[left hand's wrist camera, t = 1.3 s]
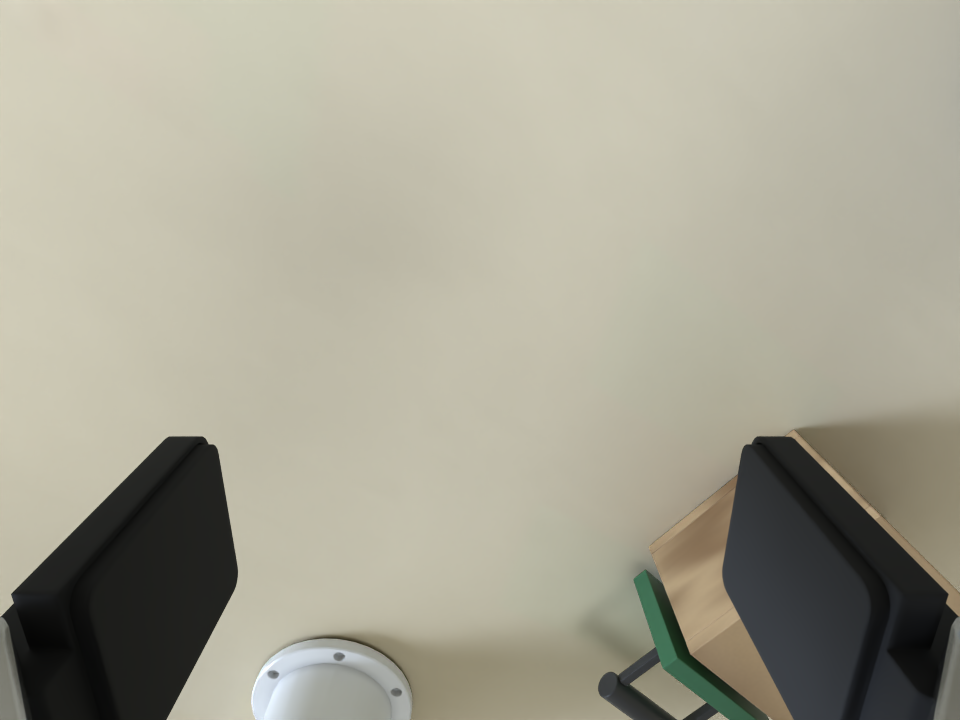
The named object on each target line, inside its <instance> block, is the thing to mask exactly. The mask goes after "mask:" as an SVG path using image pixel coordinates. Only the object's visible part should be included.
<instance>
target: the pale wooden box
mask: <svg viewBox="0 0 960 720" xmlns="http://www.w3.org/2000/svg"><path fill="white" fill-rule="evenodd" d="M785 437H792V438H794V439H795V440H796V441H797V442H798V443H799V444H800V445H801V446H802V447H803V448H804V449H805V450H806V451H807V452H808V453H809V454H810V455H811V456H812V457H813V458H814V459H815V460H816V461H817V462H818V463H819V464H820V465H821V466H822V467H823V468H824V469H825V470H826V471H827V472H828V473H829V474H830V475H831V476H832V477H833V478H834V479H835V480H836V481H837V482H838V483H839V484H840V485H841V486H842V487H843V488H844V489H845V490H846V491H847V492H848V493H849V494H850V495H851V496H852V497H853V498H854V499H855V500H856V501H857V502H858V503H859V504H860V505H861V506H862V507H863V508H864V509H865V510H866V511H867V512H868V513H869V514H870V515H871V516H872V517H873V518H874V519H875V520H876V521H877V522H878V523H879V524H880V525H881V526H882V527H883V528H884V529H885V530H886V531H887V532H888V533H889V534H890V535H891V536H892V537H893V538H894V539H895V540H896V541H897V542H898V543H899V544H900V546H901V547H902V548H903V549H904V550H905V551H906V552H907V553H908V554H909V555H910V556H911V557H912V558H913V559H914V560H915V561H916V562H917V563H918V564H919V565H920V566H921V567H922V568H923V569H924V570H925V571H926V572H927V573H928V574H929V575H930V576H931V577H932V578H933V579H934V580H935V581H936V582H937V583H938V584H939V585H940V586H941V587H942V588H943V589H944V590H945V591H946V592H947V593H948V594H949V595H948V598H947V601H946V604H947V605H948V606H949V607H950V608H951V609H952V610H953V611H954V612H955V613H956V614H957V615H958V616H959V617H960V593H959V592H958V591H957V590H956V589H955V588H954V587H953V586H952V585H951V584H950V583H949V582H948V581H947V580H946V579H945V578H944V577H943V576H942V575H941V574H940V573H939V572H938V571H937V570H936V569H935V568H934V567H933V566H932V565H931V564H930V563H929V562H928V561H927V560H926V559H925V558H924V557H923V556H922V555H921V554H920V553H919V552H918V551H917V550H916V549H915V548H914V547H913V546H912V545H911V544H910V543H909V542H908V541H907V540H906V539H905V538H904V537H903V536H902V535H901V534H900V533H899V532H898V531H897V530H896V529H895V528H894V527H893V526H892V525H891V524H890V523H889V522H888V521H887V520H886V519H885V518H884V517H883V516H882V515H881V514H880V513H878V512H877V511H876V510H875V509H874V508H873V507H872V506H871V505H870V504H869V503H868V502H867V501H866V500H865V499H864V498H863V497H862V496H861V495H860V494H859V493H858V492H857V491H856V490H855V489H854V488H853V487H852V486H851V485H850V484H849V483H848V482H847V481H846V480H845V479H844V478H843V477H842V476H841V475H840V474H839V473H838V472H837V471H836V470H835V469H834V468H833V467H832V466H831V465H830V464H829V463H828V462H827V461H826V460H825V459H824V458H823V457H822V456H821V455H820V454H819V453H818V452H817V451H816V450H815V449H814V448H813V447H812V446H811V445H810V444H809V443H808V442H807V441H806V440H805V439H804V438H803V437H802V436H800V435H799V434H798V433H797V432H796V431H795V430H792V431H791V432H790V433H789V434H787V435H786V436H785ZM737 477H738V475H737V476H735V477H734V478H733V479H732V480H731V481H729V482H728V483H727V484H726V485H724V486H723V487H722V488H721V489H719V490H718V491H717V492H716V493H714V494H713V495H712V496H711V497H710V498H708V499H707V500H706V501H705V502H703V503H702V504H701V505H700V506H698V507H697V508H696V509H695V510H693V511H692V512H691V513H690V514H689V515H687V516H686V517H685V518H684V519H682V520H681V521H680V522H679V523H677V524H676V525H675V526H674V527H672V528H671V529H670V530H669V531H668V532H666V533H665V534H664V535H663V536H661V537H660V538H659V539H658V540H656V541H655V542H654V543H653V544H652V545H650V546H649V549H650V552H651V554H652V557H653V559H654V562H655V564H656V567H657V569H658V572H659V575H660V577H661V580H662V582H663V585H664V587H665V590H666V593H667V595H668V598H669V600H670V603H671V605H672V608H673V610H674V613H675V616H676V618H677V621H678V623H679V626H680V628H681V631H682V633H683V636H684V639H685V641H686V644H687V647H688V649H689V652H690V654H691V655H692V656H693V657H694V658H696V659H697V660H698V661H699V662H701V663H702V664H703V665H704V666H706V667H707V668H708V669H710V670H711V671H712V672H713V673H715V674H716V675H717V676H718V677H720V678H721V679H722V680H723V681H725V682H726V683H727V684H728V685H730V686H731V687H732V688H733V689H735V690H736V691H737V692H738V693H740V694H741V695H742V696H744V697H745V698H746V699H747V700H749V701H750V702H751V703H752V704H754V705H755V706H756V707H757V708H759V709H760V710H761V711H762V712H764V713H765V714H766V715H767V716H769V717H770V718H771V719H773V720H794V719H793V718H792V716H791V714H790V712H789V710H788V708H787V706H786V704H785V702H784V700H783V698H782V697H781V695H780V693H779V691H778V689H777V687H776V685H775V683H774V681H773V679H772V678H771V676H770V674H769V672H768V670H767V668H766V666H765V664H764V662H763V660H762V658H761V657H760V655H759V653H758V651H757V649H756V647H755V645H754V643H753V641H752V639H751V638H750V636H749V634H748V632H747V630H746V628H745V626H744V624H743V622H742V620H741V619H740V617H739V615H738V613H737V611H736V609H735V607H734V605H733V603H732V601H731V599H730V598H729V596H728V594H727V592H726V590H725V587H724V583H723V578H722V567H723V561H724V555H725V549H726V543H727V537H728V531H729V525H730V519H731V513H732V507H733V501H734V495H735V489H736V483H737Z"/></svg>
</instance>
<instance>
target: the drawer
mask: <svg viewBox="0 0 960 720" xmlns="http://www.w3.org/2000/svg"><path fill="white" fill-rule="evenodd" d="M634 583H635V586H636V589H637V592H638V595H639V598H640V601H641V604H642V607H643V610H644V613H645V616H646V619H647V622H648V625H649V628H650V631H651V634H652V637H653V640H654V643H655V646H656V647H655V648H654V649H653V650H651V651H650V652H649V653H647V654H646V655H645V656H643V657H642V658H641V659H639V660H638V661H637V662H635V663H634V664H633V665H631V666H630V667H629V668H627V669H626V670H625V671H623V672H622V673H621V674H619V676H618V675H617V674H615V673H614V672H608V673H606V674H605V675H604V676H603V677H602V678H601V680H600V682H599V686H598V691H599V694H600V696H601V697H603V698H604V699H606V700H607V701H608V702H610V703H611V704H612V705H614V706H615V707H616V708H618V709H619V710H621V711H622V712H623V713H625V714H626V715H627V716H629V717H630V718H632V719H633V720H677V719H675V718H674V717H673V716H671V715H670V714H669V713H667V712H666V711H665V710H663V709H662V708H661V707H659V706H658V705H657V704H655V703H654V702H653V701H651V700H650V699H649V698H647V697H646V696H645V695H643V694H642V693H641V692H639V691H638V690H637V689H635V688H634V687H633V686H631V685H630V683H631V682H633V681H634V680H635V679H637V678H638V677H639V676H641V675H642V674H643V673H645V672H646V671H647V670H649V669H650V668H651V667H653V666H654V665H656V664H657V663H658V662H660V661H661V664H662V667H663V669H664V670H666V671H667V672H668V673H669V674H671V675H672V676H673V677H675V678H676V679H677V680H679V681H680V682H681V683H682V684H684V685H685V686H686V687H688V688H689V689H690V690H691V691H693V692H694V693H695V694H697V695H698V696H699V697H701V698H702V699H703V700H704V701H706V702H707V703H706V704H704V705H703V706H702V707H700V708H699V709H697V710H696V711H694V712H693V713H691V714H690V715H689V716H687V717H686V718H684V719H683V720H707V719H709V718H710V717H712V716H713V715H715V714H716V713H718V712H720V713H721V714H723V715H724V716H725V717H726V718H728V719H729V720H769V719H768V717H767V715H766V714H765V713H764V712H762V711H761V710H760V709H759V708H757V707H756V706H755V705H754V704H752V703H751V702H750V701H749V700H747V699H746V698H745V697H744V696H742V695H741V694H740V693H738V692H737V691H736V690H735V689H733V688H732V687H731V686H730V685H728V684H727V683H726V682H725V681H723V680H722V679H721V678H720V677H718V676H717V675H716V674H715V673H713V672H712V671H711V670H710V669H708V668H707V667H706V666H704V665H703V664H702V663H701V662H699V661H698V660H697V659H696V658H694V657H693V656H692V655H691V654H690V652H689V649H688V647H687V644H686V641H685V639H684V636H683V633H682V631H681V628H680V626H679V623H678V621H677V618H676V616H675V613H674V610H673V608H672V605H671V603H670V600H669V598H668V595H667V593H666V590H665V587H664V585H663V584H662V583H661V582H660V581H659V580H658V579H656V578H655V577H654V576H653V575H651V574H650V573H649V572H648V571H647V570H644V571H643V572H642V573H641V574H639V575H638V576H637V577H636V578H634Z"/></svg>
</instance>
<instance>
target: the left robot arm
mask: <svg viewBox="0 0 960 720" xmlns="http://www.w3.org/2000/svg"><path fill="white" fill-rule="evenodd" d="M237 578H238V567H237V561H236V555H235V549H234V543H233V537H232V531H231V525H230V519H229V513H228V507H227V501H226V495H225V489H224V483H223V477H222V472H221V466H220V460H219V454H218V450H217V448H216V446H215V445H208V442H207V440H206V439H205V438H204V437H168V438H166V439H165V440H164V441H163V442H162V443H161V444H160V445H159V446H158V447H157V448H156V449H155V450H154V451H153V452H152V453H151V454H150V455H149V456H148V457H147V458H146V459H145V460H144V461H143V462H142V463H141V464H140V465H139V466H138V467H137V468H136V469H135V470H134V471H133V472H132V473H131V474H130V475H129V476H128V477H127V478H126V479H125V480H124V481H123V482H122V483H121V484H120V485H119V486H118V487H117V488H116V489H115V490H114V491H113V492H112V493H111V494H110V495H109V496H108V497H107V498H106V499H105V500H104V501H103V502H102V503H101V504H100V505H99V506H98V507H97V508H96V509H95V510H94V511H93V512H92V513H91V514H90V515H89V516H88V517H87V518H86V519H85V520H84V521H83V522H82V523H81V524H80V525H79V526H78V527H77V528H76V529H75V530H74V531H73V532H72V533H71V534H70V535H69V536H68V537H67V538H66V539H65V540H64V541H63V542H62V543H61V544H60V546H59V547H58V548H57V549H56V550H55V551H54V552H53V553H52V554H51V555H50V556H49V557H48V558H47V559H46V560H45V561H44V562H43V563H42V564H41V565H40V566H39V567H38V568H37V569H36V570H35V571H34V572H33V573H32V574H31V575H30V576H29V577H28V578H27V579H26V580H25V581H24V582H23V583H22V584H21V585H20V586H19V587H18V588H17V589H16V590H15V591H14V592H13V593H12V594H11V595H12V598H13V601H14V604H13V605H12V606H11V607H10V608H9V609H8V610H7V611H6V612H5V613H4V614H3V615H2V616H1V617H0V720H166V719H167V718H168V716H169V714H170V712H171V710H172V708H173V706H174V704H175V702H176V700H177V698H178V697H179V695H180V693H181V691H182V689H183V687H184V685H185V683H186V681H187V679H188V678H189V676H190V674H191V672H192V670H193V668H194V666H195V664H196V662H197V660H198V658H199V657H200V655H201V653H202V651H203V649H204V647H205V645H206V643H207V641H208V639H209V638H210V636H211V634H212V632H213V630H214V628H215V626H216V624H217V622H218V620H219V619H220V617H221V615H222V613H223V611H224V609H225V607H226V605H227V603H228V601H229V599H230V598H231V596H232V594H233V592H234V590H235V587H236V583H237ZM722 578H723V583H724V587H725V590H726V592H727V594H728V596H729V598H730V599H731V601H732V603H733V605H734V607H735V609H736V611H737V613H738V615H739V617H740V619H741V620H742V622H743V624H744V626H745V628H746V630H747V632H748V634H749V636H750V638H751V639H752V641H753V643H754V645H755V647H756V649H757V651H758V653H759V655H760V657H761V658H762V660H763V662H764V664H765V666H766V668H767V670H768V672H769V674H770V676H771V678H772V679H773V681H774V683H775V685H776V687H777V689H778V691H779V693H780V695H781V697H782V698H783V700H784V702H785V704H786V706H787V708H788V710H789V712H790V714H791V716H792V718H793V719H794V720H960V617H959V616H958V615H957V614H956V613H955V612H954V611H953V610H952V609H951V608H950V607H949V606H948V605H947V604H946V601H947V598H948V595H949V594H948V593H947V592H946V591H945V590H944V589H943V588H942V587H941V586H940V585H939V584H938V583H937V582H936V581H935V580H934V579H933V578H932V577H931V576H930V575H929V574H928V573H927V572H926V571H925V570H924V569H923V568H922V567H921V566H920V565H919V564H918V563H917V562H916V561H915V560H914V559H913V558H912V557H911V556H910V555H909V554H908V553H907V552H906V551H905V550H904V549H903V548H902V547H901V546H900V544H899V543H898V542H897V541H896V540H895V539H894V538H893V537H892V536H891V535H890V534H889V533H888V532H887V531H886V530H885V529H884V528H883V527H882V526H881V525H880V524H879V523H878V522H877V521H876V520H875V519H874V518H873V517H872V516H871V515H870V514H869V513H868V512H867V511H866V510H865V509H864V508H863V507H862V506H861V505H860V504H859V503H858V502H857V501H856V500H855V499H854V498H853V497H852V496H851V495H850V494H849V493H848V492H847V491H846V490H845V489H844V488H843V487H842V486H841V485H840V484H839V483H838V482H837V481H836V480H835V479H834V478H833V477H832V476H831V475H830V474H829V473H828V472H827V471H826V470H825V469H824V468H823V467H822V466H821V465H820V464H819V463H818V462H817V461H816V460H815V459H814V458H813V457H812V456H811V455H810V454H809V453H808V452H807V451H806V450H805V449H804V448H803V447H802V446H801V445H800V444H799V443H798V442H797V441H796V440H795V439H794V438H792V437H756V438H755V439H754V440H753V442H752V445H745V446H744V448H743V450H742V454H741V460H740V466H739V472H738V477H737V483H736V489H735V495H734V501H733V507H732V513H731V519H730V525H729V531H728V537H727V543H726V549H725V555H724V561H723V567H722ZM251 703H252V708H253V714H254V716H255V718H256V720H411V712H412V693H411V689H410V686H409V683H408V681H407V679H406V678H405V676H404V674H403V673H402V671H401V670H400V669H399V668H398V667H397V666H396V665H395V664H394V663H393V662H392V661H391V660H389V659H388V658H387V657H386V656H384V655H383V654H381V653H379V652H378V651H376V650H374V649H372V648H370V647H368V646H365V645H362V644H359V643H356V642H352V641H347V640H341V639H314V640H307V641H303V642H300V643H296V644H293V645H291V646H289V647H287V648H285V649H282V650H281V651H279V652H278V653H277V654H275V655H274V656H272V657H271V658H270V659H269V660H268V661H267V663H266V664H265V665H264V666H263V667H262V669H261V671H260V673H259V675H258V677H257V680H256V682H255V685H254V688H253V691H252V701H251Z"/></svg>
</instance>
